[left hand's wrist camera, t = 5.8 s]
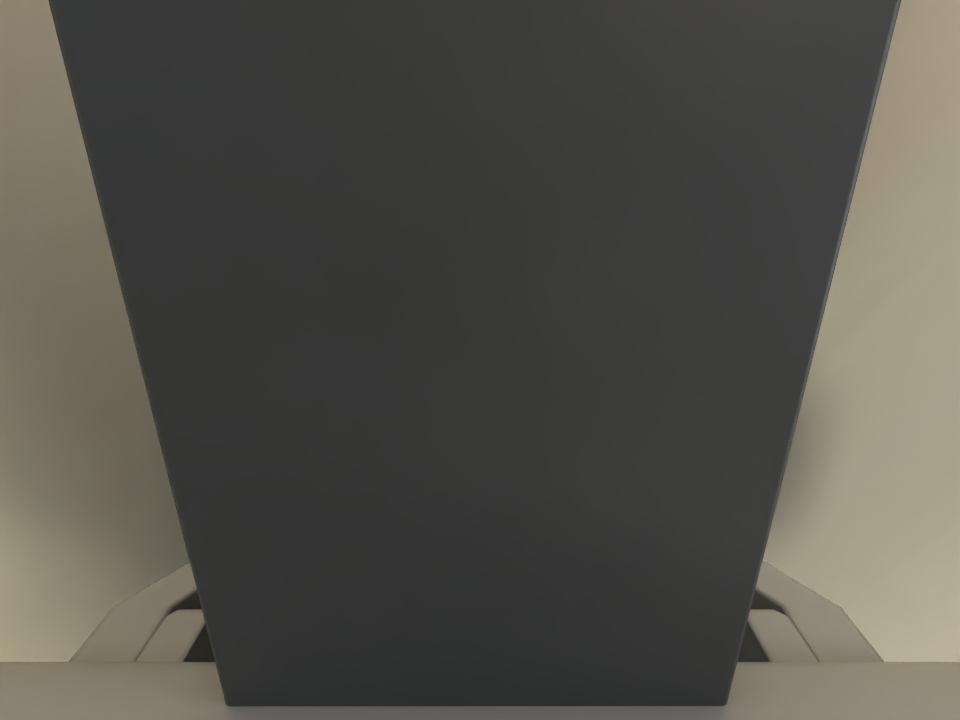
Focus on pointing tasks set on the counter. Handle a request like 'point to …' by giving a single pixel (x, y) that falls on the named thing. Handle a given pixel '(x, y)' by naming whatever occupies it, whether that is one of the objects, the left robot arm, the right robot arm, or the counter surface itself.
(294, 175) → the bar
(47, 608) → the counter surface
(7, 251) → the counter surface
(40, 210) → the counter surface
